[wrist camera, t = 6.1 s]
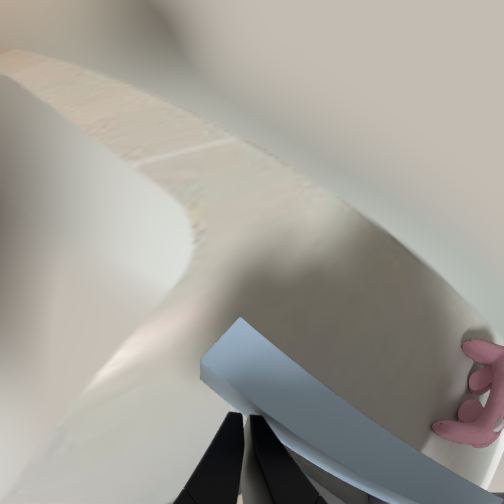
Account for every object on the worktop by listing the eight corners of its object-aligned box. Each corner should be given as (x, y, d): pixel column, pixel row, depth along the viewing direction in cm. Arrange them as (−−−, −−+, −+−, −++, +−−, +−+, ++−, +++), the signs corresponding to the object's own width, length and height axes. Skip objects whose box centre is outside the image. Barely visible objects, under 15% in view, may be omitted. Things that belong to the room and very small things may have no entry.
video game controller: (435, 446, 16) (500, 455, 10) (426, 430, 15) (502, 438, 9) (468, 360, 21) (525, 357, 15) (462, 334, 20) (526, 329, 14)
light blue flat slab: (399, 483, 13) (516, 495, 4) (382, 508, 12) (494, 536, 3) (221, 360, 17) (251, 304, 7) (195, 387, 16) (187, 371, 6)
